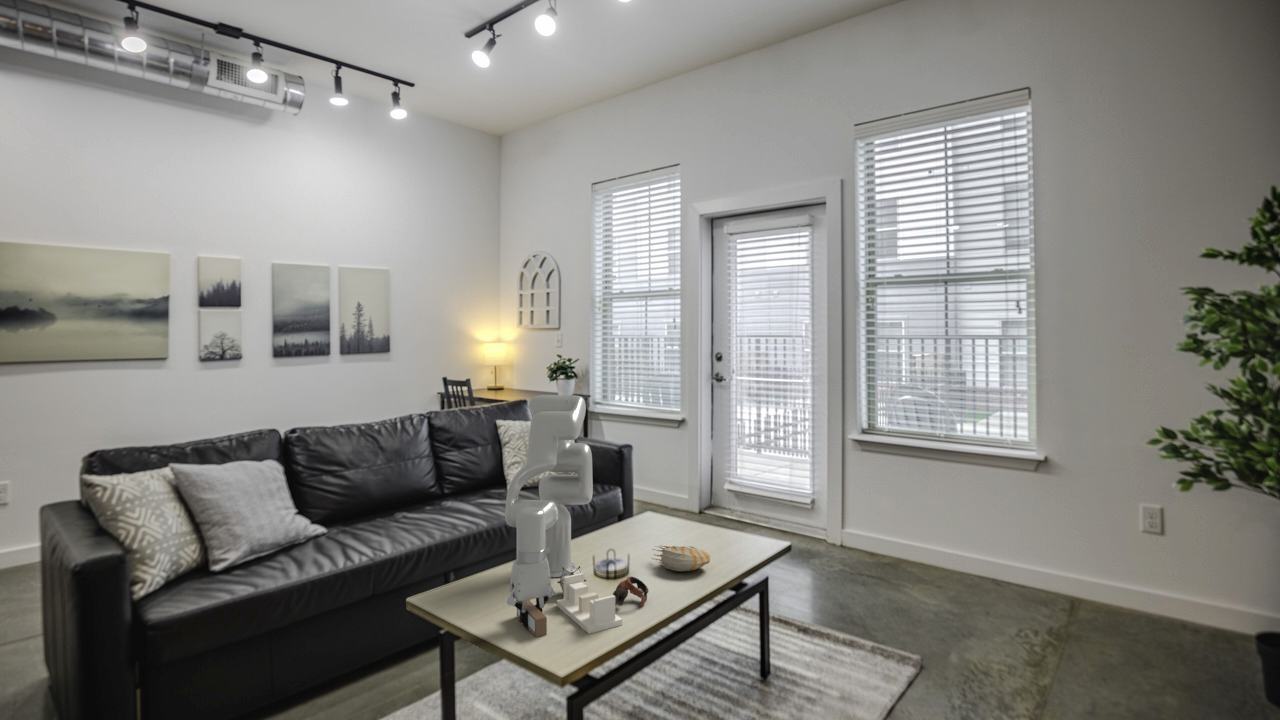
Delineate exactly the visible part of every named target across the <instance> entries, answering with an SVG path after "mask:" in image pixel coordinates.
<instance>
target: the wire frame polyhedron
mask: <svg viewBox="0 0 1280 720" xmlns="http://www.w3.org/2000/svg"><path fill="white" fill-rule="evenodd" d="M562 569H563V573H562V576H561V577H560V578H559V581H557V582H556V583H557V584H559V585H560V587H561V590H562V592H563V595H562V597H563V598H564V577H566V576H570V575H575V574H580V573H582V572H581V571H580V569H581V566H580V565H579V566H578V567H577V568H576V569H564V567H562ZM587 581H588V580H586V579H584V583H585V582H587Z"/></svg>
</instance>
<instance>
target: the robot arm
mask: <svg viewBox="0 0 1280 720" xmlns="http://www.w3.org/2000/svg"><path fill="white" fill-rule="evenodd" d="M586 410H587V406H586V400H585V399H584V398H583V396H581V395H580V396H579V395H576V394H575V395H574V394H573V395H568V394H567V395H566V394H565V395H564V394H563V395H561V394H541V395H536V396H533V397H531V398H530V400H529V411H530V413H531V414H530V415H531V416H532V417H531V420H530V423H529V424H530V425H529V436H528V445H527V456H526V462H525V464H524V465H523V466H522V467H521V468H519V470H518V471H517V472H516V474H515V475H514V477H513V478H512V479H511V481H510V483H509V486H508V488H507V493H506V499H505V500H506V501H505V510H504V518H505V522H506V524H507V526H509V527H511V528H516V559H515V560H513V562H512V568H511V574H510V583H509V584H510V585H509V586H510V587H509V596H508V598H507V600H506V603H507V604H508V605H509V606H511V607H514V608H516V609H517V608H518V609H519V610H520V619H519V622H520V624H522V625H523V627H524V628H528V612H527V611H526V606H527V600H530V601H531V600H535V604H534V605H535V606H536V607H537V608H538V609H539V610H540V611H541V612H542V613H543V609H544V607H545V605H546V604H547V602H548V601H549V599H551V598H552V597H553V596H554V595H555V594H556V592H555V590H554V587H552V580H551V578H561V576H562V573H563V569H562V567H564V569H577V566H576V564H575V563H573V562H572V518H571V514H570V512H569V511H568V510H569V509H568V508H567V507H566V505H576V506H577V505H580V506H582V505H587V504H589V503H590V502H591V501H592V499H593V492H594V491H593V490H594V488H593V487H594V484H593V483H594V482H593V481H594V480H593V454H592V450H591V447H590V445H588V444H587V443H584V442H570V441H574V440H576V439H578V437H579V436H580V434H581V431H582V428H583V424H584V420H585V417H586ZM547 472H551V473H556V474H548V475H545V476H543V477H542V478H541V479H540V481H539V483H538V493H539V494H538V495H539V499H538V500H537V499H519V495H520V491H521V489H522V487H523V486H524V485H525V484H526V483H527V482H529V481H531V479H533V478H535V477H536V476H539V475H542V474H545V473H547ZM557 473H558V474H557ZM559 473H575V474H559ZM517 601H518V602H517Z"/></svg>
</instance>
